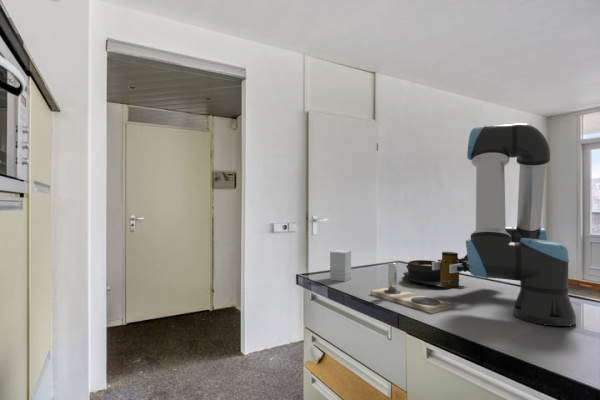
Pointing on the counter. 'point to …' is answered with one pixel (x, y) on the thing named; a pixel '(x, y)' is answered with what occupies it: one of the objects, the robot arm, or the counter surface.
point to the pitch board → (412, 300)
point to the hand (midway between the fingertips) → (441, 267)
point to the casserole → (423, 272)
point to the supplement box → (340, 265)
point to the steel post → (392, 277)
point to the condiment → (448, 278)
